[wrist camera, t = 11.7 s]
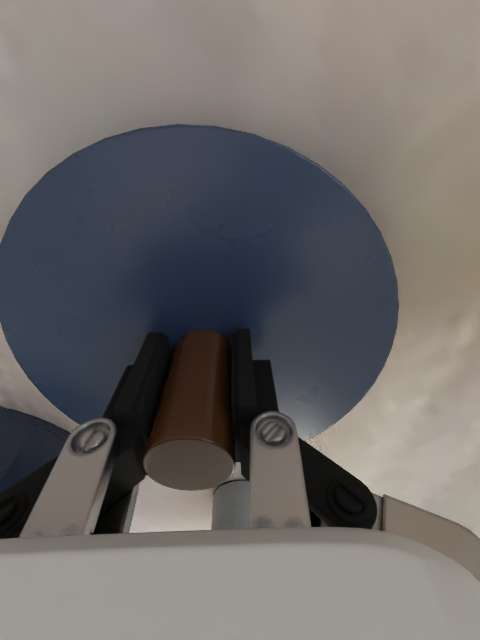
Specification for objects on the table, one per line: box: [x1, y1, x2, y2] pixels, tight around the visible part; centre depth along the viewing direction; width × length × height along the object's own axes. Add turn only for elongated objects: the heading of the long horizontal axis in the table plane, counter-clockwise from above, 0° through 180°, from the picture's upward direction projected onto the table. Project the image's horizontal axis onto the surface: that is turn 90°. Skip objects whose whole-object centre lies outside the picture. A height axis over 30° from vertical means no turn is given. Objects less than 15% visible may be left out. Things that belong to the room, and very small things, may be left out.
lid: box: [0, 124, 399, 490], centre depth 10 cm, size 16×16×6 cm
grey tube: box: [211, 481, 249, 530], centre depth 18 cm, size 4×4×10 cm
